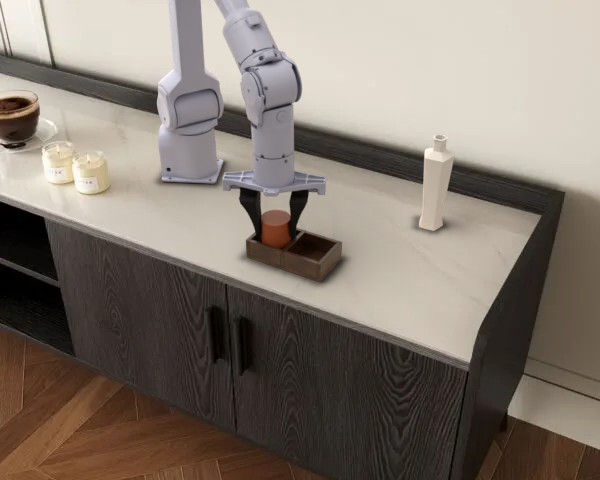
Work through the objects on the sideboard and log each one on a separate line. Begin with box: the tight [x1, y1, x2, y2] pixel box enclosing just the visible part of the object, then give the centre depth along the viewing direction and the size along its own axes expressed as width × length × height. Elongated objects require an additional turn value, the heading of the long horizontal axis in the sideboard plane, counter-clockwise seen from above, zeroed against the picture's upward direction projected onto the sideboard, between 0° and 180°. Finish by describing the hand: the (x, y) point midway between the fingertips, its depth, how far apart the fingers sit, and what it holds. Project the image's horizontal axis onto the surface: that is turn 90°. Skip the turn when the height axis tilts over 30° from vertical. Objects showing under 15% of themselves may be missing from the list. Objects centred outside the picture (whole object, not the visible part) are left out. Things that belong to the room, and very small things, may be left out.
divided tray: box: [245, 227, 343, 283], centre depth 113 cm, size 13×7×3 cm, turn 60°
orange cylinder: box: [261, 209, 291, 248], centre depth 112 cm, size 4×4×4 cm
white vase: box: [418, 133, 455, 232], centre depth 116 cm, size 5×4×15 cm
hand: (276, 232), depth 112 cm, fingers closed on orange cylinder, 4 cm apart
